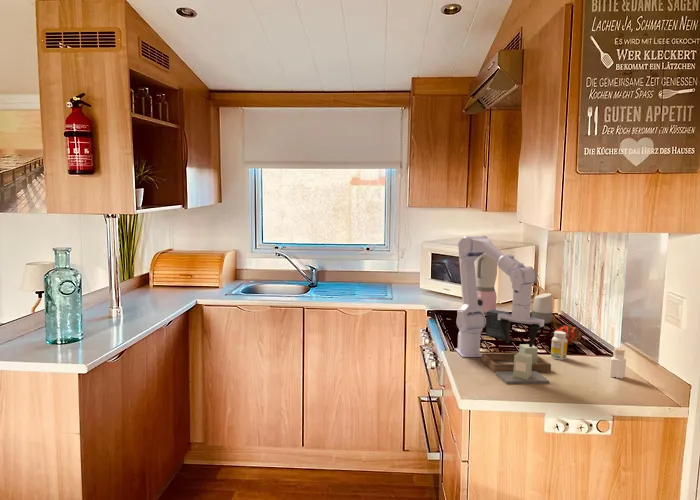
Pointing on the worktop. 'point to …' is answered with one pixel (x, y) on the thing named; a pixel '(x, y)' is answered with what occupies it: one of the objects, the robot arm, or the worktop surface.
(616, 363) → the pepper shaker
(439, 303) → the worktop surface
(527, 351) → the plain box
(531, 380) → the slate board
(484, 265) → the blender
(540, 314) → the smart speaker
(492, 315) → the box
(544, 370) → the walnut tray
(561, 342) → the supplement bottle
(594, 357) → the worktop surface
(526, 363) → the olive beige rectangular block
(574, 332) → the dragon fruit
